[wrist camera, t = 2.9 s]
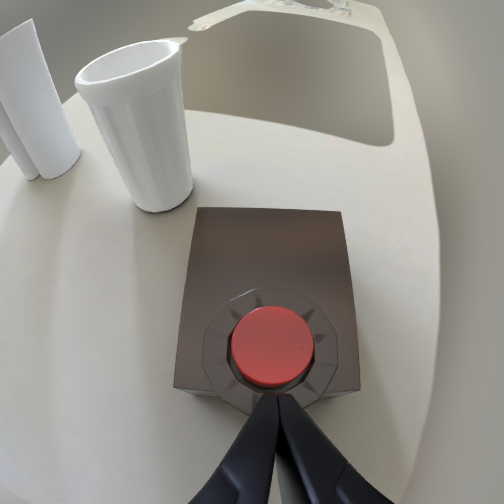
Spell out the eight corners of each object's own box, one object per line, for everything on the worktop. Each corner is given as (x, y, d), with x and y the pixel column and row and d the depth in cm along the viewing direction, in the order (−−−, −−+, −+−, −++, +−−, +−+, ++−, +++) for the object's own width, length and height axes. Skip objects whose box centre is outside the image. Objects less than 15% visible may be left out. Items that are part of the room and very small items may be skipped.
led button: (307, 387, 13) (315, 383, 11) (231, 386, 13) (229, 383, 11) (306, 317, 15) (312, 305, 13) (235, 316, 15) (233, 304, 13)
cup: (110, 209, 27) (53, 87, 15) (154, 157, 31) (124, 41, 19) (176, 233, 25) (129, 86, 13) (217, 173, 29) (203, 39, 17)
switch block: (335, 413, 18) (373, 410, 12) (190, 411, 18) (161, 408, 12) (326, 250, 25) (347, 194, 19) (206, 246, 25) (193, 189, 19)
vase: (90, 145, 33) (43, 12, 16) (59, 184, 29) (-8, 43, 12) (41, 144, 34) (-5, 38, 17) (13, 178, 31) (-45, 69, 14)
